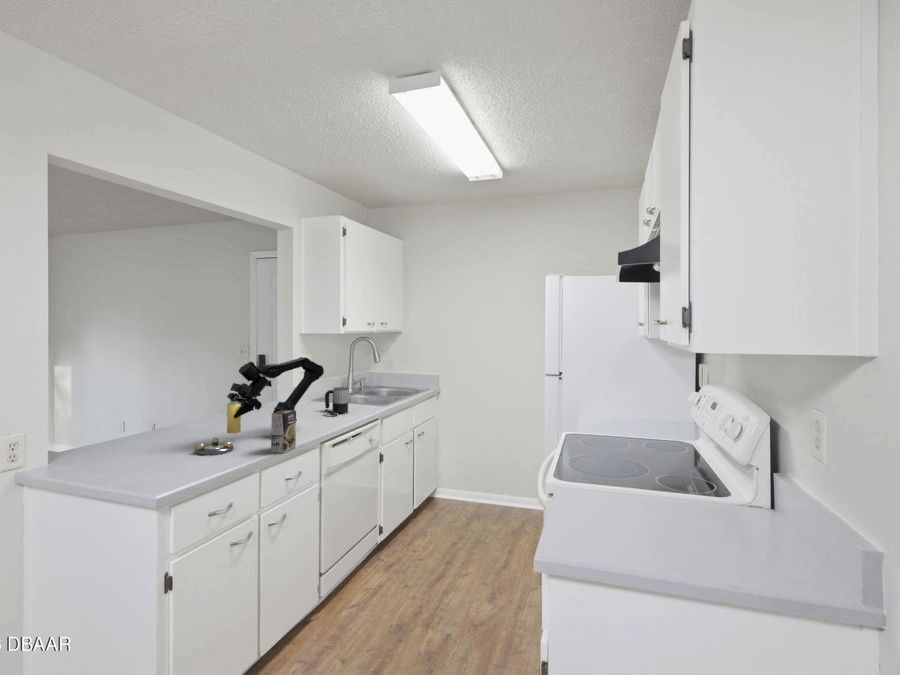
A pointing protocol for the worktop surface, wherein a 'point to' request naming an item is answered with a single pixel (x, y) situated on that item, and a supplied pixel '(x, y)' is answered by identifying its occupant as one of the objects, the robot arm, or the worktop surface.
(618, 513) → the worktop surface
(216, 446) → the base plate
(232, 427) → the yellow cylinder
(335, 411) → the milk frother
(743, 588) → the worktop surface
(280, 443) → the coffee box
